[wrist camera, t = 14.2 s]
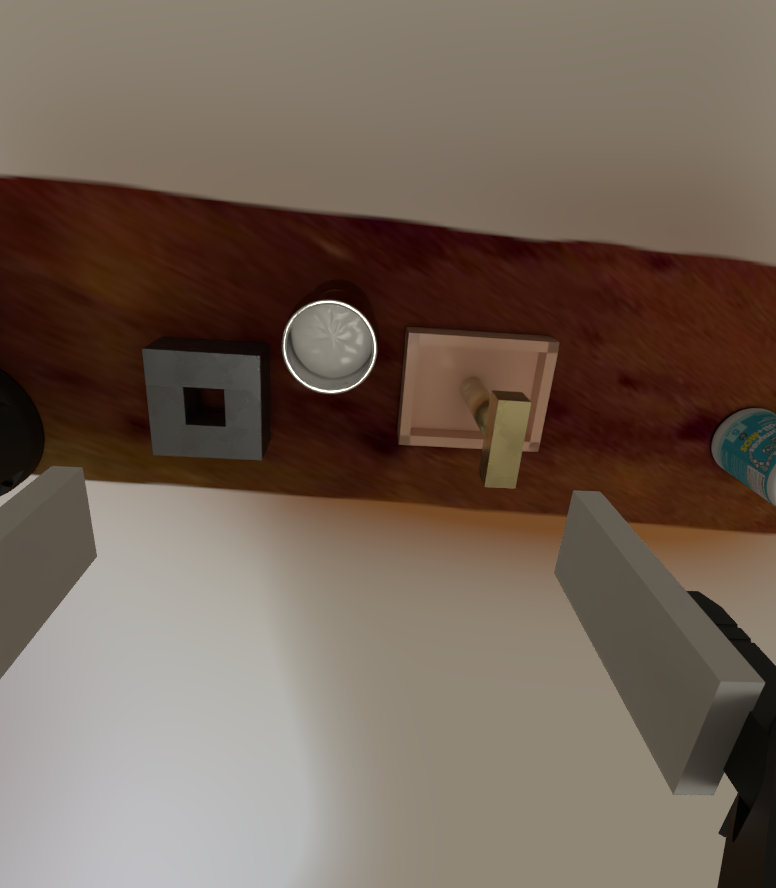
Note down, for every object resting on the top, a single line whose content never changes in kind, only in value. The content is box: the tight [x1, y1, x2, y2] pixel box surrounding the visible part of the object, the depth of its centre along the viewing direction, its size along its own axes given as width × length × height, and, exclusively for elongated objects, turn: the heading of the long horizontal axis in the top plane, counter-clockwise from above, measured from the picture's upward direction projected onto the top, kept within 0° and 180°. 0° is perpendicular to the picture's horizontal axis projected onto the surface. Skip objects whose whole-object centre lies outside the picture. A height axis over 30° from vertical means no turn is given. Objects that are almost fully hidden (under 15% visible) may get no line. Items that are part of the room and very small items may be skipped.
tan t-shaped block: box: [460, 377, 531, 488], centre depth 46 cm, size 7×2×14 cm, turn 176°
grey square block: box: [142, 337, 270, 460], centre depth 51 cm, size 10×10×5 cm
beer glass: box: [282, 280, 379, 394], centre depth 44 cm, size 7×7×15 cm
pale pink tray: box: [397, 327, 560, 452], centre depth 52 cm, size 14×11×3 cm
